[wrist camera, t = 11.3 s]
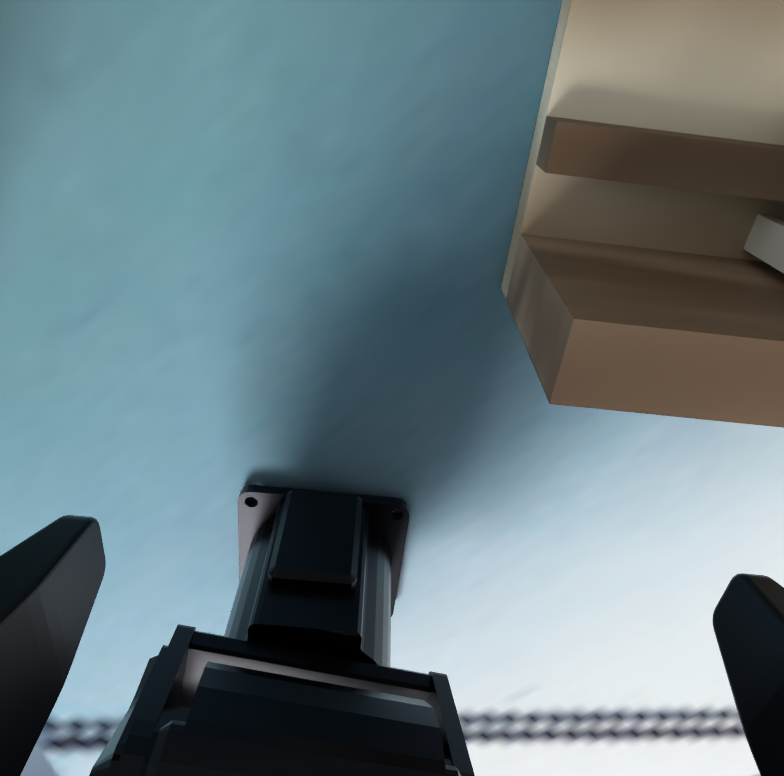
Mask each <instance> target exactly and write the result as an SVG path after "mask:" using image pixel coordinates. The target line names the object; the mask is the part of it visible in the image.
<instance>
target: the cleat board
mask: <svg viewBox="0 0 784 776" xmlns="http://www.w3.org/2000/svg"><path fill="white" fill-rule="evenodd" d="M758 214H762V215H770V216H778V217H784V0H563V1H562V5H561V10H560V15H559V19H558V24H557V29H556V33H555V38H554V43H553V47H552V52H551V57H550V61H549V66H548V71H547V75H546V80H545V85H544V89H543V94H542V99H541V103H540V108H539V113H538V117H537V122H536V127H535V131H534V136H533V141H532V145H531V150H530V155H529V159H528V164H527V169H526V173H525V178H524V183H523V187H522V192H521V197H520V201H519V206H518V211H517V215H516V220H515V225H514V229H513V234H512V239H511V243H510V248H509V253H508V257H507V262H506V267H505V271H504V276H503V281H502V285H501V289H502V291H503V293H504V296H505V298H506V301H507V303H508V305H509V308H510V310H511V313H512V315H513V317H514V320H515V322H516V324H517V327H518V329H519V332H520V334H521V336H522V339H523V341H524V344H525V346H526V348H527V351H528V353H529V356H530V358H531V360H532V363H533V365H534V368H535V370H536V372H537V375H538V377H539V380H540V382H541V384H542V387H543V389H544V392H545V394H546V396H547V399H548V401H549V404H556V405H566V406H576V407H586V408H596V409H606V410H616V411H626V412H636V413H646V414H656V415H666V416H676V417H685V418H695V419H705V420H715V421H725V422H735V423H745V424H755V425H765V426H775V427H784V274H783V273H782V272H780V271H779V270H777V269H775V268H774V267H772V266H770V265H769V264H767V263H766V262H764V261H762V260H761V259H759V258H757V257H756V256H754V255H753V254H751V253H749V252H748V251H746V250H744V249H743V248H744V246H745V244H746V241H747V239H748V236H749V234H750V232H751V229H752V227H753V224H754V222H755V220H756V217H757V215H758Z"/></svg>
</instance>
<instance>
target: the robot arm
mask: <svg viewBox="0 0 784 776" xmlns="http://www.w3.org/2000/svg"><path fill="white" fill-rule="evenodd" d="M248 497H253V498H255V499H257V500H250V499H249V498H248ZM393 510H399V511H401V512H400V513H393V512H392V511H393ZM408 521H409V505H408V504H407V502H406V501H404V500H403V499H399V498H390V497H379V496H368V495H357V494H346V493H335V492H324V491H313V490H302V489H291V488H280V487H269V486H258V485H248V486H246V487H244V488H243V489H242V490H241V492H240V495H239V498H238V534H239V586H238V589H237V593H236V596H235V600H234V603H233V607H232V610H231V614H230V617H229V621H228V624H227V628H226V631H225V635H224V636H221V635H215V634H210V633H205V632H199V631H195V629H196V628H195V627H190V626H184V625H179V624H178V626H177V628H176V630H175V632H174V635H173V637H172V639H171V641H170V643H169V646H165V645H163V647H162V648H161V651H160V653H159V655H158V656H156V657H153V658H150V659H149V662H148V664H147V667H146V669H145V672H144V674H143V677H142V679H141V682H140V684H139V687H138V689H137V692H136V694H135V697H134V699H133V701H132V703H131V705H130V708H129V710H128V711H127V713H126V715H125V717H124V718H123V720H122V722H121V723H120V725H119V726H118V728H117V730H116V731H115V733H114V734H113V736H112V737H111V739H110V741H109V742H108V744H107V745H106V747H105V749H104V750H103V752H102V753H101V755H100V757H99V758H98V760H97V761H96V763H95V765H94V766H93V768H92V770H91V773H90V775H89V776H474V772H473V768H472V765H471V761H470V757H469V754H468V750H467V746H466V743H465V739H464V736H463V732H462V728H461V725H460V721H459V717H458V714H457V710H456V707H455V703H454V699H453V696H452V692H451V688H450V685H449V681H448V678H447V675H446V674H441V673H436V672H429V674H425V673H419V672H414V671H408V670H403V669H398V668H392V667H390V630H391V616H392V615H393V611H394V605H395V599H396V593H397V587H398V581H399V575H400V569H401V563H402V557H403V551H404V545H405V539H406V533H407V527H408ZM104 572H105V554H104V549H103V543H102V537H101V532H100V526H99V523H98V521H97V520H96V519H95V518H92V517H86V516H74V515H66V516H63V517H61V518H59V519H57V520H55V521H54V522H52V523H51V524H49V525H48V526H46V527H45V528H43V529H41V530H40V531H38V532H37V533H35V534H34V535H32V536H31V537H29V538H27V539H26V540H24V541H23V542H21V543H20V544H18V545H17V546H15V547H13V548H12V549H10V550H9V551H7V552H6V553H4V554H3V555H1V556H0V776H20V775H21V773H22V771H23V768H24V766H25V764H26V762H27V760H28V758H29V756H30V754H31V752H32V750H33V748H34V746H35V744H36V742H37V740H38V738H39V736H40V734H41V732H42V730H43V727H44V725H45V723H46V721H47V719H48V717H49V715H50V713H51V711H52V709H53V707H54V705H55V703H56V701H57V698H58V696H59V694H60V692H61V690H62V688H63V685H64V683H65V680H66V678H67V675H68V673H69V670H70V667H71V665H72V662H73V659H74V657H75V654H76V651H77V648H78V645H79V643H80V640H81V637H82V634H83V632H84V629H85V626H86V623H87V621H88V618H89V615H90V612H91V610H92V607H93V604H94V601H95V599H96V596H97V593H98V590H99V588H100V585H101V582H102V579H103V576H104ZM713 627H714V631H715V635H716V638H717V642H718V645H719V649H720V652H721V656H722V659H723V662H724V666H725V669H726V673H727V676H728V680H729V683H730V686H731V690H732V693H733V697H734V700H735V704H736V707H737V711H738V714H739V717H740V720H741V723H742V727H743V730H744V733H745V736H746V738H747V741H748V744H749V746H750V749H751V752H752V754H753V757H754V760H755V762H756V765H757V767H758V770H759V772H760V775H761V776H784V588H783V587H782V586H781V585H779V584H778V583H777V582H775V581H774V580H772V579H771V578H769V577H767V576H763V575H754V574H737V575H736V576H734V577H733V578H732V579H731V581H730V583H729V585H728V586H727V588H726V590H725V592H724V594H723V595H722V597H721V599H720V601H719V602H718V604H717V606H716V608H715V610H714V614H713Z"/></svg>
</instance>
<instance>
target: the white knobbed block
mask: <svg viewBox="0 0 784 776" xmlns="http://www.w3.org/2000/svg"><path fill="white" fill-rule="evenodd" d="M743 249H744V250H746V251H748V252H749V253H751V254H753V255H754V256H756V257H757V258H759V259H761V260H762V261H764V262H766V263H767V264H769V265H770V266H772V267H774V268H775V269H777V270H779V271H780V272H782V273H783V274H784V217H778V216H770V215H762V214H758V215H757V217H756V220H755V222H754V224H753V227H752V229H751V232H750V234H749V236H748V239H747V241H746V244H745V246H744V248H743Z"/></svg>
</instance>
